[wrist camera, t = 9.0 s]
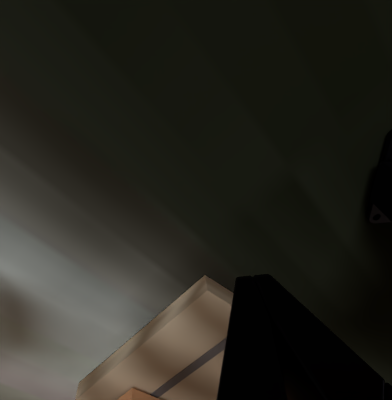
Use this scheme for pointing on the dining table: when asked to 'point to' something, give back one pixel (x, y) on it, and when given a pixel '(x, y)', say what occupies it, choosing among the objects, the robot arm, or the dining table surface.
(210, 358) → the fader console
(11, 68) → the dining table surface
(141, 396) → the fader tab
